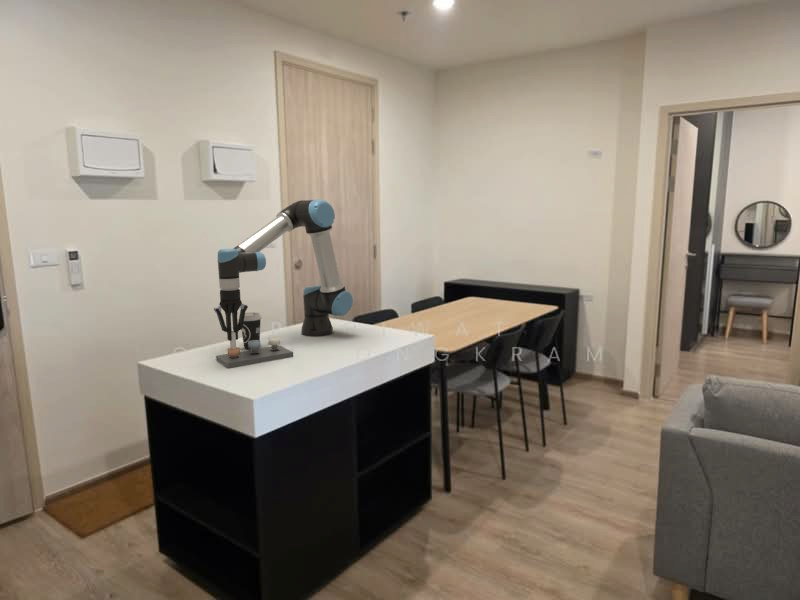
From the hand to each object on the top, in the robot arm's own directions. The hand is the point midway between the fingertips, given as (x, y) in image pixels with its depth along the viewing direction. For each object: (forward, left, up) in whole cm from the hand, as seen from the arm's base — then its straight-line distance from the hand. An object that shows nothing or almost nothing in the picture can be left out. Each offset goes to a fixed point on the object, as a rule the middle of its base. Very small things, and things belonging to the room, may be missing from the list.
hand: (233, 348), depth 214 cm
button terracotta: (0, 0, -5) cm, 5 cm away
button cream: (-17, 0, -3) cm, 17 cm away
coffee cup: (-14, -18, -6) cm, 24 cm away
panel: (-9, 0, -6) cm, 10 cm away
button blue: (-9, 0, -3) cm, 9 cm away
